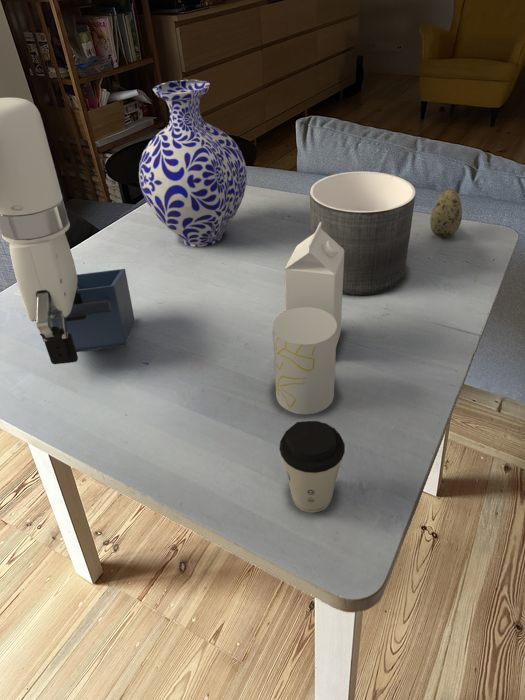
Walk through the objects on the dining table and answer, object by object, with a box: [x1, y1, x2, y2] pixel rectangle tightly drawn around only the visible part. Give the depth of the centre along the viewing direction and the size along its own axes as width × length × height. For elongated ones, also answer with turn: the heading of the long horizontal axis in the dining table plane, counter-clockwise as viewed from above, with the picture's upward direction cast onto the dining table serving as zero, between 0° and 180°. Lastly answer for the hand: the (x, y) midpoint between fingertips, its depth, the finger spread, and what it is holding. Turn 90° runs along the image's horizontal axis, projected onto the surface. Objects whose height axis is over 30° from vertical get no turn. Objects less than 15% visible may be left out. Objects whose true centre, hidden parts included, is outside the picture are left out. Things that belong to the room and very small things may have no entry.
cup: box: [272, 307, 337, 415], centre depth 72 cm, size 8×8×12 cm
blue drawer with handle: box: [34, 268, 135, 353], centre depth 81 cm, size 18×11×9 cm, turn 9°
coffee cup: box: [278, 420, 346, 514], centre depth 59 cm, size 7×7×10 cm
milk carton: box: [284, 222, 344, 347], centre depth 79 cm, size 7×7×19 cm
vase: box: [138, 79, 248, 248], centre depth 107 cm, size 22×22×30 cm
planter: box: [309, 171, 417, 296], centre depth 96 cm, size 18×18×16 cm
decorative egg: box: [429, 188, 463, 239], centre depth 107 cm, size 6×6×10 cm
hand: (70, 339), depth 71 cm, fingers open, 9 cm apart
